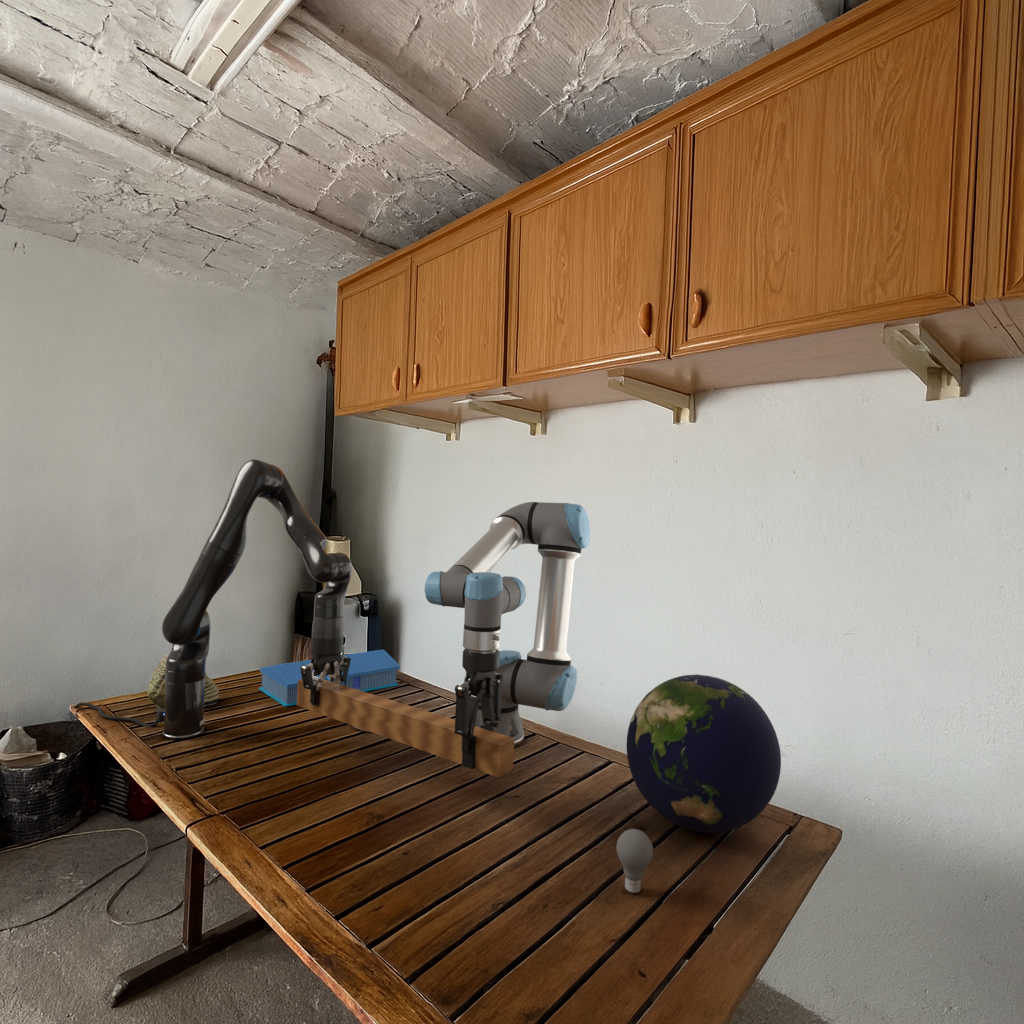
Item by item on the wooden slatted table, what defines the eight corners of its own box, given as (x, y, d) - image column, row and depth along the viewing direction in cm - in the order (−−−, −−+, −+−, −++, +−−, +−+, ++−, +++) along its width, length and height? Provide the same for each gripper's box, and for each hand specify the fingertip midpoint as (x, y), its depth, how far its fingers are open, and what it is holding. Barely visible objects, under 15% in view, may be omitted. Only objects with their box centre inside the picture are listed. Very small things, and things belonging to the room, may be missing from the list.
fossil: (144, 707, 182) (145, 655, 182) (212, 696, 194) (213, 647, 194) (151, 716, 175) (153, 662, 175) (221, 703, 188) (223, 653, 188)
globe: (608, 841, 121) (615, 684, 120) (638, 779, 148) (644, 652, 148) (777, 883, 110) (786, 711, 109) (776, 808, 137) (783, 670, 137)
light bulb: (610, 879, 108) (613, 822, 108) (644, 879, 109) (647, 822, 109) (619, 902, 102) (622, 840, 102) (655, 901, 103) (658, 840, 103)
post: (296, 705, 158) (297, 680, 158) (312, 701, 162) (313, 676, 162) (499, 777, 123) (500, 745, 123) (513, 769, 127) (514, 738, 127)
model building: (289, 709, 186) (291, 675, 185) (258, 688, 204) (259, 657, 204) (403, 687, 212) (405, 657, 212) (366, 670, 230) (368, 643, 230)
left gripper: (313, 641, 148) (310, 713, 148) (360, 632, 159) (357, 699, 160) (293, 635, 152) (290, 706, 152) (340, 627, 164) (337, 693, 164)
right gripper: (468, 661, 119) (463, 783, 120) (521, 644, 134) (516, 753, 135) (438, 654, 123) (433, 771, 124) (492, 638, 138) (488, 744, 139)
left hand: (324, 702), depth 156 cm, fingers closed on post, 5 cm apart
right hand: (476, 762), depth 129 cm, fingers closed on post, 5 cm apart
